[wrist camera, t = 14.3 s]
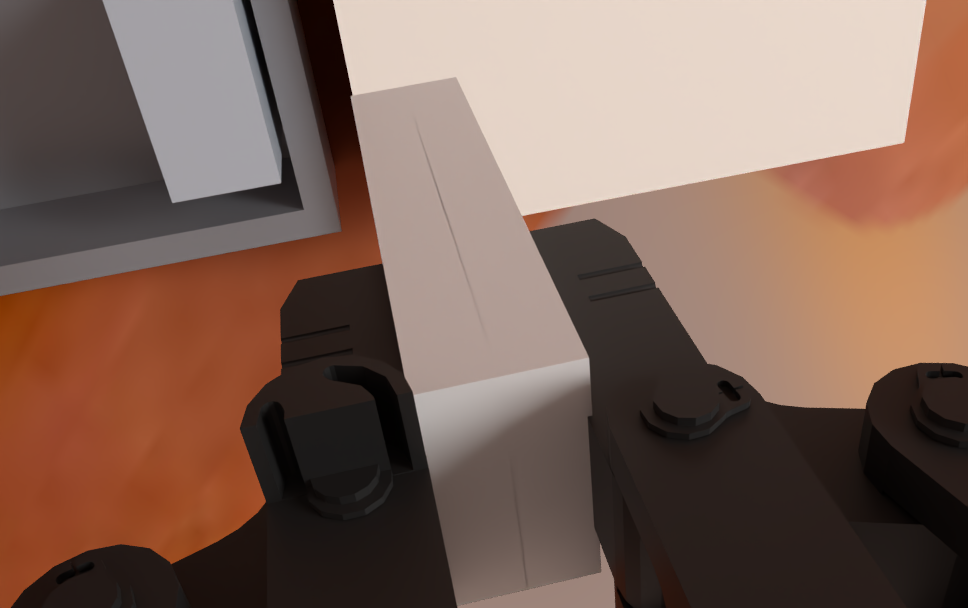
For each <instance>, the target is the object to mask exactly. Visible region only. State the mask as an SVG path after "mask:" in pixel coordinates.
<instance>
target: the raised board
mask: <svg viewBox="0 0 968 608" xmlns="http://www.w3.org/2000/svg"><path fill="white" fill-rule="evenodd" d="M333 2H334V7H335V12H336V17H337V22H338V27H339V32H340V36H341V41H342V46H343V51H344V56H345V61H346V66H347V70H348V75H349V80H350V85H351V90H352V95H359V94H364V93H370V92H375V91H381V90H387V89H392V88H398V87H403V86H409V85H414V84H420V83H425V82H431V81H437V80H442V79H448V78H453V77H456V78H457V80H458V82H459V84H460V86H461V88H462V90H463V93H464V95H465V97H466V99H467V101H468V103H469V105H470V107H471V109H472V112H473V114H474V116H475V118H476V120H477V122H478V124H479V126H480V128H481V131H482V133H483V135H484V137H485V139H486V141H487V143H488V145H489V147H490V150H491V152H492V154H493V156H494V158H495V160H496V162H497V164H498V166H499V169H500V171H501V173H502V175H503V177H504V179H505V181H506V183H507V185H508V188H509V190H510V192H511V194H512V196H513V198H514V200H515V202H516V204H517V207H518V209H519V211H520V213H521V215H522V216H524V215H529V214H534V213H539V212H545V211H550V210H555V209H560V208H565V207H571V206H576V205H581V204H586V203H592V202H597V201H602V200H607V199H613V198H617V197H623V196H628V195H633V194H638V193H644V192H649V191H654V190H659V189H664V188H670V187H675V186H680V185H686V184H691V183H696V182H701V181H707V180H712V179H717V178H722V177H728V176H733V175H738V174H743V173H749V172H754V171H759V170H764V169H769V168H775V167H780V166H785V165H790V164H796V163H801V162H806V161H811V160H817V159H822V158H827V157H832V156H837V155H843V154H848V153H853V152H858V151H864V150H869V149H874V148H879V147H884V146H890V145H895V144H900V143H904V140H905V134H906V127H907V121H908V115H909V108H910V102H911V95H912V89H913V82H914V76H915V70H916V63H917V57H918V50H919V44H920V37H921V31H922V24H923V18H924V12H925V5H926V0H333Z"/></svg>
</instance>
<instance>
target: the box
mask: <svg viewBox="0 0 968 608" xmlns="http://www.w3.org/2000/svg"><path fill="white" fill-rule="evenodd" d="M250 1H251V5H252V8H253V12H254V16H255V20H256V24H257V28H258V32H259V36H260V40H261V44H262V47H263V51H264V55H265V59H266V63H267V67H268V71H269V75H270V79H271V83H272V87H273V90H274V94H275V98H276V102H277V106H278V110H279V114H280V118H281V122H282V161H281V183H279V184H274V185H268V186H263V187H258V188H252V189H247V190H241V191H236V192H230V193H225V194H219V195H214V196H208V197H203V198H197V199H192V200H186V201H181V202H176V203H172V200H171V198H170V195H169V192H168V189H167V186H166V183H165V180H164V177H163V174H162V171H161V169H160V166H159V163H158V160H157V157H156V154H155V151H154V148H153V145H152V143H151V140H150V137H149V134H148V131H147V128H146V125H145V122H144V119H143V116H142V114H141V111H140V108H139V105H138V102H137V99H136V96H135V93H134V90H133V87H132V85H131V82H130V79H129V76H128V73H127V70H126V67H125V64H124V61H123V58H122V56H121V53H120V50H119V47H118V44H117V41H116V38H115V35H114V32H113V29H112V27H111V24H110V21H109V18H108V15H107V12H106V9H105V6H104V3H103V1H102V0H0V296H2V295H7V294H13V293H18V292H23V291H29V290H34V289H39V288H44V287H50V286H55V285H60V284H66V283H71V282H76V281H81V280H87V279H92V278H97V277H103V276H108V275H113V274H118V273H124V272H129V271H134V270H139V269H145V268H150V267H155V266H161V265H166V264H171V263H176V262H182V261H187V260H192V259H198V258H203V257H208V256H213V255H219V254H224V253H229V252H234V251H240V250H245V249H250V248H256V247H261V246H266V245H271V244H277V243H282V242H287V241H293V240H298V239H303V238H308V237H314V236H319V235H324V234H330V233H335V232H340V231H341V221H340V212H339V202H338V193H337V183H336V174H335V166H334V162H333V157H332V153H331V149H330V144H329V140H328V135H327V131H326V127H325V122H324V118H323V113H322V109H321V105H320V100H319V96H318V91H317V87H316V83H315V78H314V74H313V70H312V65H311V61H310V56H309V52H308V48H307V43H306V39H305V34H304V30H303V26H302V21H301V17H300V12H299V8H298V4H297V0H250Z"/></svg>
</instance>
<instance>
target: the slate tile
mask: <svg viewBox="0 0 968 608" xmlns="http://www.w3.org/2000/svg"><path fill="white" fill-rule="evenodd" d="M102 1H103V3H104V6H105V9H106V12H107V15H108V18H109V21H110V24H111V27H112V29H113V32H114V35H115V38H116V41H117V44H118V47H119V50H120V53H121V56H122V58H123V61H124V64H125V67H126V70H127V73H128V76H129V79H130V82H131V85H132V87H133V90H134V93H135V96H136V99H137V102H138V105H139V108H140V111H141V114H142V116H143V119H144V122H145V125H146V128H147V131H148V134H149V137H150V140H151V143H152V145H153V148H154V151H155V154H156V157H157V160H158V163H159V166H160V169H161V171H162V174H163V177H164V180H165V183H166V186H167V189H168V192H169V195H170V198H171V200H172V203H176V202H181V201H186V200H192V199H197V198H203V197H208V196H214V195H219V194H225V193H230V192H236V191H241V190H247V189H252V188H258V187H263V186H268V185H274V184H279V183H281V161H282V122H281V118H280V114H279V110H278V106H277V102H276V98H275V94H274V90H273V87H272V83H271V79H270V75H269V71H268V67H267V63H266V59H265V55H264V51H263V47H262V44H261V40H260V36H259V32H258V28H257V24H256V20H255V16H254V12H253V8H252V5H251V1H250V0H102Z"/></svg>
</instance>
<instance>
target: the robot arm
mask: <svg viewBox="0 0 968 608" xmlns="http://www.w3.org/2000/svg"><path fill="white" fill-rule="evenodd" d="M351 102H352V107H353V112H354V117H355V122H356V127H357V133H358V138H359V143H360V148H361V153H362V159H363V164H364V169H365V174H366V179H367V184H368V190H369V195H370V200H371V205H372V210H373V215H374V221H375V226H376V231H377V236H378V241H379V247H380V252H381V257H382V262H383V264H378V265H373V266H368V267H363V268H358V269H353V270H348V271H343V272H338V273H333V274H328V275H323V276H318V277H313V278H308V279H303V280H298V281H297V283H296V285H295V286H294V288H293V289H292V291H291V293H290V294H289V296H288V298H287V299H286V301H285V302H284V304H283V306H282V307H281V309H280V317H281V341H282V344H281V364H282V369H281V375H280V376H278V377H277V378H275V379H274V380H272V381H270V382H269V383H267V384H266V385H265V386H264V387H263V388H262V389H261V390H260V392H259V393H258V394H257V395H256V396H255V397H254V398H253V399H252V401H251V402H250V403H249V404H248V405H247V408H246V411H245V414H244V417H243V420H242V423H241V426H240V430H241V433H242V436H243V439H244V441H245V444H246V447H247V450H248V452H249V455H250V458H251V461H252V464H253V466H254V469H255V472H256V475H257V477H258V480H259V483H260V486H261V488H262V491H263V494H264V497H265V499H266V503H265V504H264V505H263V507H262V508H261V509H260V510H259V512H258V513H257V514H256V515H254V516H253V517H252V518H251V519H250V520H249V521H247V522H246V523H245V524H244V525H243V526H242V527H240V528H239V529H238V530H236V531H234V532H233V533H231V534H229V535H228V536H226V537H224V538H223V539H221V540H219V541H218V542H216V543H214V544H212V545H210V546H208V547H206V548H204V549H202V550H200V551H198V552H196V553H193V554H191V555H189V556H187V557H185V558H183V559H181V560H179V561H177V562H175V563H173V564H170V562H169V561H167V560H166V559H164V558H163V557H161V556H160V555H159V554H157V553H156V552H154V551H153V550H151V549H150V548H144V547H137V546H129V545H122V544H120V545H115V546H110V547H104V548H99V549H94V550H89V551H86V552H84V553H82V554H80V555H78V556H76V557H73V558H71V559H69V560H67V561H65V562H63V563H61V564H59V565H56V566H54V567H53V568H52V569H50V570H49V571H48V572H47V573H45V574H44V575H43V576H42V577H40V578H39V579H38V580H37V581H35V582H34V583H33V584H32V585H30V586H29V587H28V588H27V589H25V590H24V591H23V593H22V594H21V595H20V596H19V598H18V599H17V600H16V602H15V603H14V604H13V606H12V607H11V608H457V606H459V605H464V604H467V603H472V602H476V601H480V600H485V599H489V598H493V597H498V596H502V595H506V594H510V593H515V592H519V591H523V590H528V589H532V588H536V587H540V586H544V585H549V584H553V583H557V582H561V581H566V580H570V579H574V578H578V577H583V576H587V575H591V574H595V573H600V572H601V559H600V543H601V545H602V549H603V551H604V554H605V557H606V559H607V562H608V564H609V567H610V569H611V572H612V575H613V577H614V586H615V608H968V367H967V366H962V365H958V364H954V363H918V364H914V365H910V366H906V367H902V368H899V369H895V370H892V371H891V372H890V373H888V374H887V375H885V376H884V377H883V378H881V379H880V380H879V381H877V382H876V383H874V385H873V388H872V390H871V393H870V395H869V398H868V400H867V403H866V409H844V408H804V407H794V406H783V405H777V404H773V403H770V402H766V401H765V400H764V399H763V398H762V396H761V395H760V393H758V392H757V391H756V390H755V389H754V388H753V387H752V386H751V385H750V384H749V383H748V382H747V381H746V380H745V379H744V378H743V377H741V376H739V375H736V374H734V373H732V372H730V371H728V370H726V369H724V368H721V367H719V366H717V365H711V364H707V362H706V361H705V360H704V358H703V356H702V355H701V353H700V352H699V350H698V349H697V347H696V345H695V344H694V342H693V341H692V339H691V338H690V336H689V335H688V333H687V332H686V330H685V328H684V327H683V325H682V324H681V322H680V321H679V319H678V317H677V316H676V314H675V313H674V311H673V310H672V308H671V307H670V305H669V303H668V302H667V300H666V299H665V297H664V296H663V295H662V293H661V291H660V290H659V288H656V286H655V282H654V280H653V279H652V277H651V275H650V274H649V273H648V271H647V269H646V268H645V267H643V266H642V262H641V260H640V258H639V257H638V255H637V254H636V252H635V251H634V249H633V248H632V246H631V244H630V243H629V242H628V240H627V238H626V237H625V236H623V235H621V234H620V233H618V232H617V231H615V230H613V229H612V228H610V227H608V226H606V225H605V224H603V223H601V222H600V221H598V220H596V219H590V220H585V221H580V222H575V223H570V224H565V225H560V226H555V227H550V228H545V229H540V230H534V231H529V230H528V228H527V226H526V223H525V221H524V219H523V217H522V215H521V213H520V211H519V209H518V207H517V204H516V202H515V200H514V198H513V196H512V194H511V192H510V190H509V188H508V185H507V183H506V181H505V179H504V177H503V175H502V173H501V171H500V169H499V166H498V164H497V162H496V160H495V158H494V156H493V154H492V152H491V150H490V147H489V145H488V143H487V141H486V139H485V137H484V135H483V133H482V131H481V128H480V126H479V124H478V122H477V120H476V118H475V116H474V114H473V112H472V109H471V107H470V105H469V103H468V101H467V99H466V97H465V95H464V93H463V90H462V88H461V86H460V84H459V82H458V80H457V78H456V77H453V78H448V79H442V80H437V81H431V82H425V83H420V84H414V85H409V86H403V87H398V88H392V89H387V90H381V91H375V92H370V93H364V94H359V95H353V96H351Z"/></svg>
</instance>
